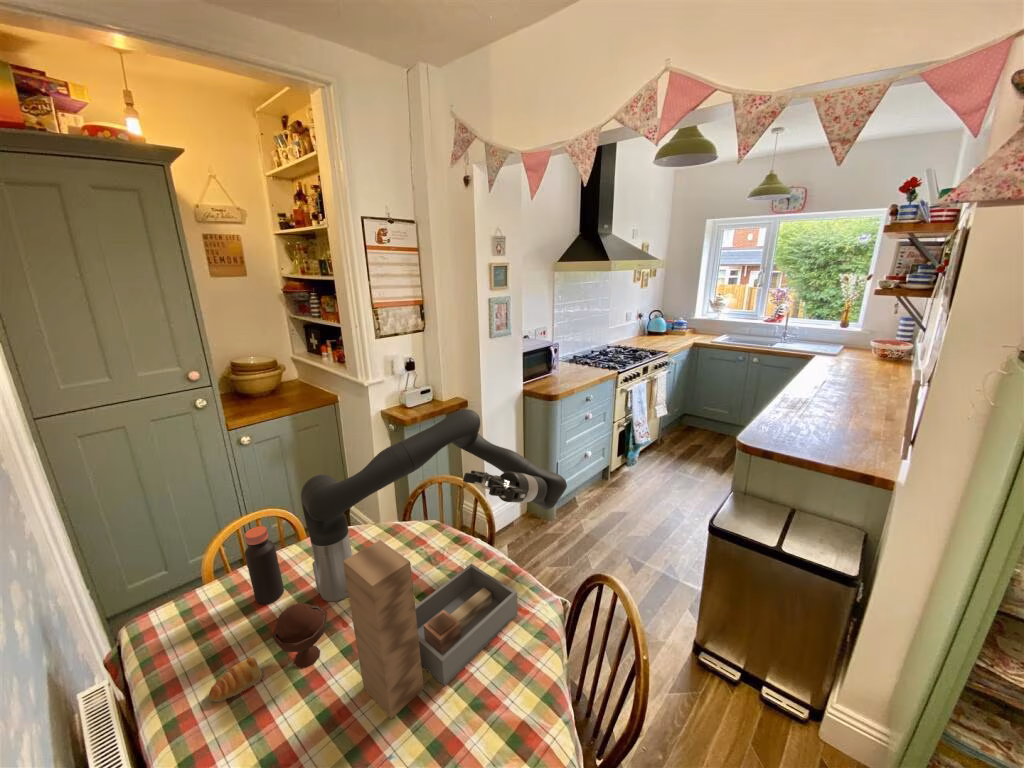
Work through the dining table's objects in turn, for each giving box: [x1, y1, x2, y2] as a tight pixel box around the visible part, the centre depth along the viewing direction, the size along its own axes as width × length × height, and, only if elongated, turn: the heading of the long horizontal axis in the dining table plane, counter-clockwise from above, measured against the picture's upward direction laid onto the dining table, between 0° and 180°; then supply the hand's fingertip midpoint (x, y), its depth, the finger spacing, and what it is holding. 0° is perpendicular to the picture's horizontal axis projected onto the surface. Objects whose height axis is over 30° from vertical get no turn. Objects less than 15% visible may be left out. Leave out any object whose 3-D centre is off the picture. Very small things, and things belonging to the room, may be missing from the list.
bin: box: [415, 563, 518, 687], centre depth 102 cm, size 24×16×7 cm, turn 140°
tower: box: [343, 539, 425, 720], centre depth 85 cm, size 8×10×32 cm
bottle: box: [244, 525, 285, 605], centre depth 112 cm, size 7×7×20 cm
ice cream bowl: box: [272, 602, 328, 669], centre depth 94 cm, size 11×11×15 cm
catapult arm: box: [424, 588, 492, 654], centre depth 103 cm, size 18×6×4 cm, turn 139°
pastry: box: [208, 655, 264, 703], centre depth 90 cm, size 9×7×4 cm
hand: (477, 483), depth 98 cm, fingers open, 8 cm apart
